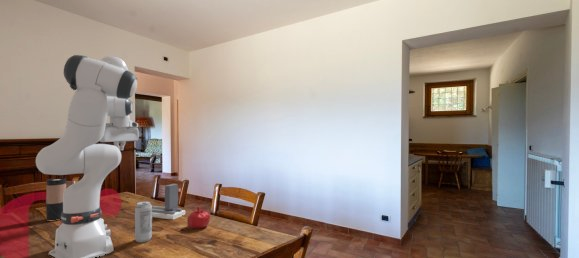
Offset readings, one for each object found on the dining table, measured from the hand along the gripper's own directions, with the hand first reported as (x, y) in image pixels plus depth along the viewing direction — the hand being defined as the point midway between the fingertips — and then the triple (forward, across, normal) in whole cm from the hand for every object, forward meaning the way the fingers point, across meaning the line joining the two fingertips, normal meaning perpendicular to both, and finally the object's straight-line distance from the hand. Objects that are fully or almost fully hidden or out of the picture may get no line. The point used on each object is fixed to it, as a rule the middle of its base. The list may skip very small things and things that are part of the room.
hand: (119, 150), depth 139 cm
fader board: (+34, +9, -19) cm, 40 cm away
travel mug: (+34, -13, +26) cm, 45 cm away
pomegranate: (+34, 0, -48) cm, 59 cm away
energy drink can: (+34, -20, -36) cm, 54 cm away
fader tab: (+32, +9, -24) cm, 41 cm away
